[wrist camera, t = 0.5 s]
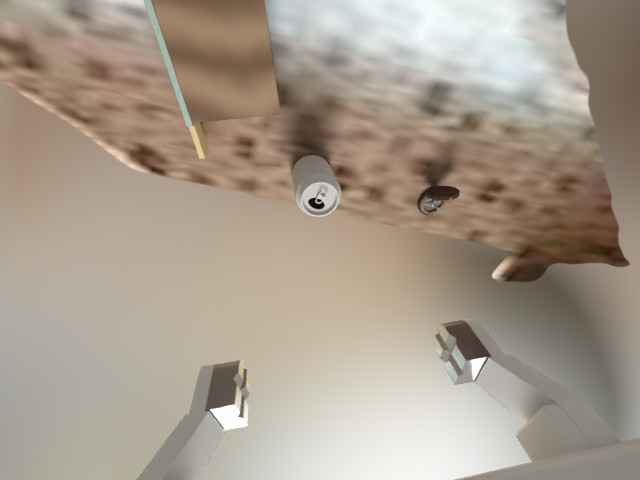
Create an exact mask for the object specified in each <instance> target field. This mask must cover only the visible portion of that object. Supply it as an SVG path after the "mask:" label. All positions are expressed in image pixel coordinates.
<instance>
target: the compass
mask: <svg viewBox="0 0 640 480" xmlns="http://www.w3.org/2000/svg"><path fill="white" fill-rule="evenodd" d="M458 196H459V190H458V189H457V188H455V187H451V186H435V187H431V188H429V189H428V190H427V191H426V192H425V193H424V194H423V195H422V196H421V197H420V199H419V201H418V209H419V210H420V212H422V213H423V214H426V215H429V214H433V213H435V212H437V211H439V210H440V209H441V208H442V206H443V205H444V203H445V201H446V203H450V201H451V200H452V199H455V198H457V197H458ZM448 200H449V202H447V201H448ZM452 201H453V200H452ZM452 201H451V202H452Z"/></svg>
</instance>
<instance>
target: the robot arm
mask: <svg viewBox="0 0 640 480" xmlns="http://www.w3.org/2000/svg"><path fill="white" fill-rule="evenodd" d="M437 330H438V332H439V333H438V334H437V335H435V338H434V346H435V349H436V352H437V354H438V356H439V358H440V359H442V360H443V361H445V362H446V370H447V372H448V374H449V376H450V378H451V379H452V381H453V383H454V385H456V384H462V383H469V382H475V383H476V384H477V385H478V386H479V387H480V388H482V389H483V390H484V391H485V392H486V393H488V394H489V395H490V396H491V397H492V398H494V399H495V400H496V401H497V402H498V403H500V404H501V405H502V406H503V407H504V408H506V409H507V410H508V411H509V412H510V413H512V414H513V415H514V416H515V417H516V418H518V419H519V420H520V421H521V422H523V423H524V424H525V425H524V426H523V427H522V428H521V429H520V430H519V431H518V432H517V438H518V440H519V442H520V443H521V445H522V446H523V448H524V449H525V451H526V453H527V454H528V456H529V457H530V459H531V460H532V462H530V463H526V464H521V465H517V466H512V467H508V468H503V469H499V470H495V471H490V472H486V473H482V474H477V475H473V476H468V477H464V478H459V479H455V480H640V438H637V439H632V440H627V441H623V442H621V441H620V440H619V439H618V438H617V437H616V435H615V434H614V433H613V432H612V431H611V430H610V429H609V428H608V426H607V425H606V424H605V423H604V422H603V421H602V420H601V419H600V418H599V416H598V415H597V414H596V413H595V412H594V411H593V410H592V409H591V408H590V406H589V405H588V404H587V403H586V402H585V401H584V400H583V399H582V398H581V397H580V396H578V395H577V394H575V393H573V392H572V391H570V390H568V389H567V388H565V387H563V386H562V385H560V384H558V383H557V382H555V381H553V380H552V379H550V378H548V377H546V376H545V375H543V374H541V373H540V372H538V371H536V370H535V369H533V368H531V367H530V366H528V365H526V364H525V363H523V362H521V361H520V360H518V359H516V358H515V357H513V356H511V355H510V354H504V352H503V351H502V350H501V349H500V347H499V346H498V345H497V343H496V342H495V341H494V340H493V338H492V337H491V336H490V335H489V333H488V332H487V331H486V330H485V328H484V327H483V326H482V324H481V323H480V322H479V321H478V320H477V319H473V318H472V319H467V320H460V321H455V322H450V323H445V324H441V325H439V326H438V328H437ZM249 394H250V377H249V373H248V371H247V370H246V369H244V362H243V360H237V361H231V362H225V363H220V364H213V365H208V366H203V367H201V369H200V371H199V375H198V379H197V383H196V388H195V392H194V396H193V401H192V405H191V409H190V413H189V414H188V415H185V416H184V417H183V419H182V420H181V421H180V423H179V424H178V425H177V427H176V428H175V429H174V431H173V432H172V433H171V435H170V436H169V437H168V439H167V440H166V441H165V443H164V444H163V445H162V447H161V448H160V449H159V451H158V452H157V454H156V455H155V456H154V457H153V459H152V460H151V461H150V463H149V464H148V465H147V467H146V468H145V469H144V471H143V472H142V473H141V475H140V476H139V477H138V479H137V480H199V479H200V478H201V476H202V474H203V472H204V470H205V468H206V466H207V465H208V463H209V461H210V459H211V457H212V455H213V453H214V452H215V450H216V448H217V446H218V444H219V442H220V441H221V439H222V437H223V435H224V433H225V430H230V429H234V428H238V427H243V426H247V423H248V410H249V406H248V404H247V402H246V398H247V397H248V396H249Z"/></svg>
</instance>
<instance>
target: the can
mask: <svg viewBox="0 0 640 480" xmlns="http://www.w3.org/2000/svg"><path fill="white" fill-rule="evenodd" d="M292 178H293V185H294V191H295V197H296V201H297V204H298V206H299V207H300V209H301V210H302V211H304V212H305V213H307V214H309V215H311V216H315V217H322V216H326V215H328V214H329V213H331V212H333V211H334V210H335V208H336V207H337V205H338V203H339V201H340V199H341V189H340V185H339V183H338V182H337V180H336V178H335V176H334V174H333V172H332V170H331V168H330V166H329V164H328V163H327V161H326V160H325V159H323V158H322V157H320V156H317V155H308V156H305V157H302V158H301V159H300V160H298V161H297V163H296V164H295V165H294V168H293V171H292Z"/></svg>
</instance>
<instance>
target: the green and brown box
mask: <svg viewBox="0 0 640 480" xmlns="http://www.w3.org/2000/svg"><path fill="white" fill-rule="evenodd" d="M152 3H153V6H154V9H155V12H156V15H157V18H158V21H159V24H160V27H161V30H162V33H163V36H164V39H165V42H166V45H167V48H168V51H169V54H170V57H171V60H172V63H173V66H174V69H175V72H176V75H177V79H178V82H179V85H180V88H181V91H182V94H183V97H184V100H185V103H186V106H187V109H188V112H189V115H190V118H191V121H192V123H197V122H207V121H217V120H227V119H237V118H248V117H258V116H268V115H278V114H280V108H279V101H278V94H277V87H276V79H275V72H274V65H273V58H272V51H271V44H270V37H269V30H268V23H267V16H266V8H265V1H264V0H152Z"/></svg>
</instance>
